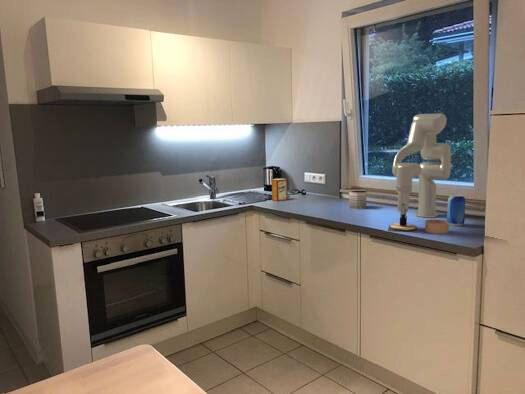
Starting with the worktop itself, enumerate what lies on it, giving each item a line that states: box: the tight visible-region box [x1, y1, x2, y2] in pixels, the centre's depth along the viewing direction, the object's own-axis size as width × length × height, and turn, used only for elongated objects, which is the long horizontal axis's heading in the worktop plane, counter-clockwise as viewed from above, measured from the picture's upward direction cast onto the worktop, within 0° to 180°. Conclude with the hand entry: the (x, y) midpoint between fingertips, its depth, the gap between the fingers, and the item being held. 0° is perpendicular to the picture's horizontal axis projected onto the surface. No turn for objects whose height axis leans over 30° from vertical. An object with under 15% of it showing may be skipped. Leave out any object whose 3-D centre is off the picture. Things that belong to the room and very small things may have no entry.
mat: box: [387, 224, 418, 234], centre depth 221 cm, size 14×14×1 cm
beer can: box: [446, 193, 466, 227], centre depth 228 cm, size 8×8×16 cm
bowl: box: [424, 218, 450, 235], centre depth 214 cm, size 11×11×5 cm
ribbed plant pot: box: [348, 189, 368, 210], centre depth 283 cm, size 11×11×12 cm
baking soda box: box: [271, 177, 288, 203], centre depth 318 cm, size 10×6×16 cm
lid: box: [390, 222, 417, 230], centre depth 221 cm, size 12×12×6 cm
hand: (403, 224), depth 221 cm, fingers closed on lid, 2 cm apart
